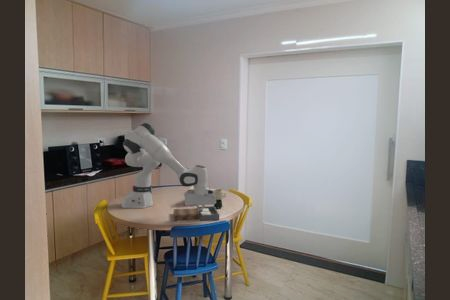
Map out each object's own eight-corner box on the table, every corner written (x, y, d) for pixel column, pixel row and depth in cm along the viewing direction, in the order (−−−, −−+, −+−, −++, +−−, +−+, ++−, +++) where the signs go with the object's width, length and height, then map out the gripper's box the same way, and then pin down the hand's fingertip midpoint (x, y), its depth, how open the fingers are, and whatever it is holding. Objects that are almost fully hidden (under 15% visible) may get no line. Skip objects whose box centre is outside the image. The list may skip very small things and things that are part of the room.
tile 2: (201, 218, 198) (201, 214, 197) (200, 215, 203) (200, 211, 203) (211, 218, 199) (211, 214, 199) (209, 215, 205) (209, 211, 204)
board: (174, 220, 193) (174, 216, 193) (173, 213, 208) (173, 209, 208) (200, 219, 197) (200, 215, 196) (197, 212, 211) (197, 208, 211)
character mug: (225, 206, 227) (225, 188, 226) (225, 209, 220) (226, 191, 219) (210, 206, 227) (210, 188, 226) (210, 209, 220) (210, 191, 219)
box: (200, 220, 195) (200, 215, 194) (197, 211, 213) (197, 206, 213) (219, 219, 197) (219, 214, 197) (214, 210, 216) (214, 206, 215)
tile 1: (200, 215, 205) (200, 211, 204) (199, 212, 211) (199, 208, 210) (209, 214, 206) (209, 211, 206) (208, 211, 212) (208, 208, 212)
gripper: (184, 192, 194) (184, 213, 195) (216, 191, 198) (216, 212, 199) (183, 189, 200) (183, 210, 201) (215, 188, 204) (214, 209, 205)
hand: (200, 211), depth 200 cm, fingers closed
